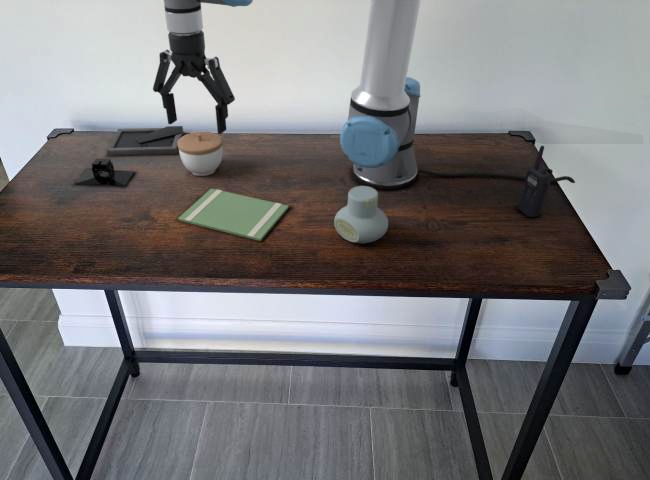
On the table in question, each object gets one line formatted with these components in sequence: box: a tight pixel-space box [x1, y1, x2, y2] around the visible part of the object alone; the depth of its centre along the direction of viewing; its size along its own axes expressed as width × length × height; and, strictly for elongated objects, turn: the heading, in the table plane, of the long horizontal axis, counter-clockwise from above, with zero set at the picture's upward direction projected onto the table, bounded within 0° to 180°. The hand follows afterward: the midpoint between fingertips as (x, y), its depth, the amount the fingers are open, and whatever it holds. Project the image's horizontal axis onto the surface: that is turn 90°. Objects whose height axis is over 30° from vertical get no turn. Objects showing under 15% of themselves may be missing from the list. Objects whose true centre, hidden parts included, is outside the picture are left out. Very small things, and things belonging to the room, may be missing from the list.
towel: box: [177, 188, 290, 242], centre depth 122 cm, size 20×14×1 cm
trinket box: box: [177, 131, 224, 177], centre depth 135 cm, size 11×11×9 cm
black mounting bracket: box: [75, 158, 135, 188], centre depth 135 cm, size 12×7×5 cm, turn 83°
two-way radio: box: [517, 145, 554, 218], centre depth 116 cm, size 6×4×15 cm
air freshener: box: [333, 185, 389, 244], centre depth 112 cm, size 11×8×10 cm
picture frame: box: [106, 125, 184, 157], centre depth 150 cm, size 13×2×18 cm
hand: (197, 126), depth 131 cm, fingers open, 13 cm apart
